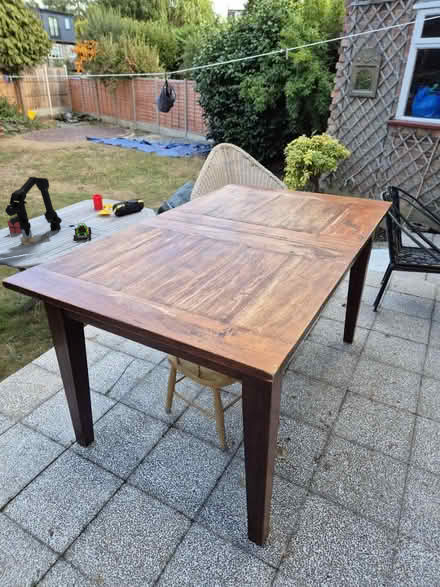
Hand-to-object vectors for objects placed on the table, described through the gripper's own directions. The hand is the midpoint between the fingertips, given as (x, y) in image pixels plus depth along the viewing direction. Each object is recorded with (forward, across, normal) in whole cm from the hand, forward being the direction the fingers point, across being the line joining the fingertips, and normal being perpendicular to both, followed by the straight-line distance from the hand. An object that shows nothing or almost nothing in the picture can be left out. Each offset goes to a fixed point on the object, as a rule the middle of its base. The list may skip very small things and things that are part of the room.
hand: (27, 234), depth 270 cm
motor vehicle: (+8, +2, +36) cm, 37 cm away
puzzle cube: (+8, -31, -3) cm, 32 cm away
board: (+7, -5, +4) cm, 10 cm away
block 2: (+6, 0, 0) cm, 6 cm away
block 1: (+2, 0, 0) cm, 2 cm away
